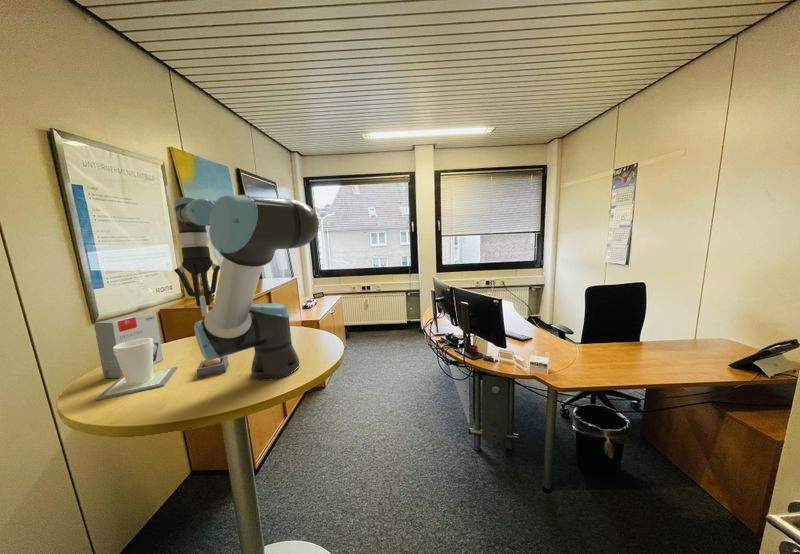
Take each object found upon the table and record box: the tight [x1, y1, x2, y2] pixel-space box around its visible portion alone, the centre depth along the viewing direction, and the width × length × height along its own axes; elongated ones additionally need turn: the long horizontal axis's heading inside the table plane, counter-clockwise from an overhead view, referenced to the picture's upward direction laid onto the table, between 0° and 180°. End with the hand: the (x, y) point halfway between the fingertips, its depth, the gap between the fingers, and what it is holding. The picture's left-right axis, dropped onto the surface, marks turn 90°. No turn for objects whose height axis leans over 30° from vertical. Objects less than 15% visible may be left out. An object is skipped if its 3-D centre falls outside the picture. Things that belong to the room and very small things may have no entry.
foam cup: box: [113, 338, 154, 386], centre depth 92 cm, size 10×9×13 cm
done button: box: [203, 358, 221, 367], centre depth 99 cm, size 5×5×3 cm
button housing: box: [196, 355, 229, 379], centre depth 99 cm, size 8×8×3 cm
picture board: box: [94, 366, 178, 401], centre depth 93 cm, size 15×16×1 cm
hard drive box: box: [93, 311, 164, 379], centre depth 104 cm, size 16×8×20 cm, turn 171°
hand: (205, 315), depth 96 cm, fingers closed
